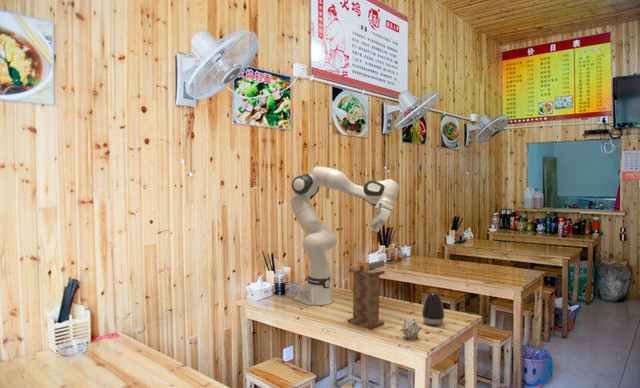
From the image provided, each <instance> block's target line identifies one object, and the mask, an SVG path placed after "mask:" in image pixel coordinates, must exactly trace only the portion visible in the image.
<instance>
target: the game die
mask: <svg viewBox="0 0 640 388" xmlns="http://www.w3.org/2000/svg"><path fill="white" fill-rule="evenodd" d="M403 321H404V323H403V325H402V327H401V329H399V331H401V332H402V333H403V334H404V336H406V341H408V340H409V339H412V338H416V339H418V335H419V334H420V330H421V329H423V327H422V326H421V327H420V325H418V323H417V322H416V319H415V318H413V319H411V320H405V319H404V320H403Z"/></svg>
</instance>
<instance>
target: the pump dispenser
mask: <svg viewBox="0 0 640 388" xmlns="http://www.w3.org/2000/svg"><path fill="white" fill-rule="evenodd" d="M443 305H444V304H443V302H442V298H441V297H440V294H438V293H437V292H435V291H431V292H429V293H428V295H427V296H426V298H425V301H424V303H423V306H422V307H423V308H422V312H421V315H422V318H423V320H424V322H425V323H426V324H428V325H430V326H438V325H440V324H441V323H442V322H443V321H444V318H445V312H444V306H443Z"/></svg>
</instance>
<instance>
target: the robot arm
mask: <svg viewBox="0 0 640 388" xmlns="http://www.w3.org/2000/svg"><path fill="white" fill-rule="evenodd" d="M320 187H324V188H327V189H329V190H330V189H331V190H335V191H339V192H341V193H345V194H348V195H351V196H353V197H356V198H359V199H362V200H365V201H366V202H367V203H368V205H371V206H372V207H374V210H375V213H374V215H373V217H372V220H371V222H370V228H371V230H370V235H375V234H376V233H379V232H380V229H381V228H382V226H383V225H384V224H385V223H387V221H388V220H389V217H390V216H391V214H392V212H393V210H394V205H395V202H396V200H397V198H398V195H399V191H400V185H399V184H398V182H397V181H395V180H393V179H390V178H387V179H385V180H374V179H373V180H368V181H367V182H365V184H364V185H363V186H361V185H358V184H355V183H353V181H351V180H350V179H349V178H348V177H347V176H346V175H345V174H344V172H342V171H340V170H338V169H336V168H332V167H328V166H327V167H326V166H320V165H318V166H315V167H313V168H312V170H311V172H310V174H309V173H305V174H301V175H297V176H296V177H294V178H293V179H292V181H291V188H292V191H293V192H294V193H296V194H295V195H292V197H291V198H290V201H289V203H290V206H291V209H292V212H293V214H294V215H293V216H295V219H296V220H297V222H298V224H299V227H300V228H301V229H302V230H303V231H305V232H306V233H308V235H306V236H305V237H304V238H303V239H302V244H301V245H302V248H303V250H304V252H305V253H306V254H307V257H308V260H309V261H308V262H309V276H306V277H305V279H306V280H307V281H306V283H305V284H303V285H302V286H300V287H299V289H298V294H297V295H295V296H294V297H293V299H294V300H295V301H298V302H300V303H303V304H305V305H307V306H325V305H330V304H332V303H333V299H332V293H331V276H330V275H331V274H330V273H331V271H330V269H331V265H330V261H329V260H328V259H327V254H326V251H329V250H331V249H333V248H335V246H336V245H337V243H338V238H337V235H336V234H335V232H332V231H331V230H330V229H328V227H327V226H325V224H324V223H323V222H322V221H321V219H320V217H318V215H317V212H316V211H315V209H314V207H313V206H312V204H311V202H310V200H312V199H313V198H314V197H315V196H316V195H317V193H318V192H319V190H320Z"/></svg>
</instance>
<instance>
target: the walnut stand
mask: <svg viewBox="0 0 640 388" xmlns="http://www.w3.org/2000/svg"><path fill="white" fill-rule="evenodd" d="M348 272H349V273H353V287H352V288H353V292H352V293H353V294H352V296H353V297H352V302H353V305H352V317H351V318H349V319H347V323H348V324H350V325H353V326H357V327H361V328H363V329H367V330H371V331H373V330H375V329H378V328H380V327H382V326H384V325H385V321H384V320H379V319H380V317H379V315H380V276H381V275H384V274H385V270H384V269H379V268H375V269H371V270H369V271H367V272H364V271H359V270H357V266H355V267H351V268H349V269H348Z"/></svg>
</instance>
